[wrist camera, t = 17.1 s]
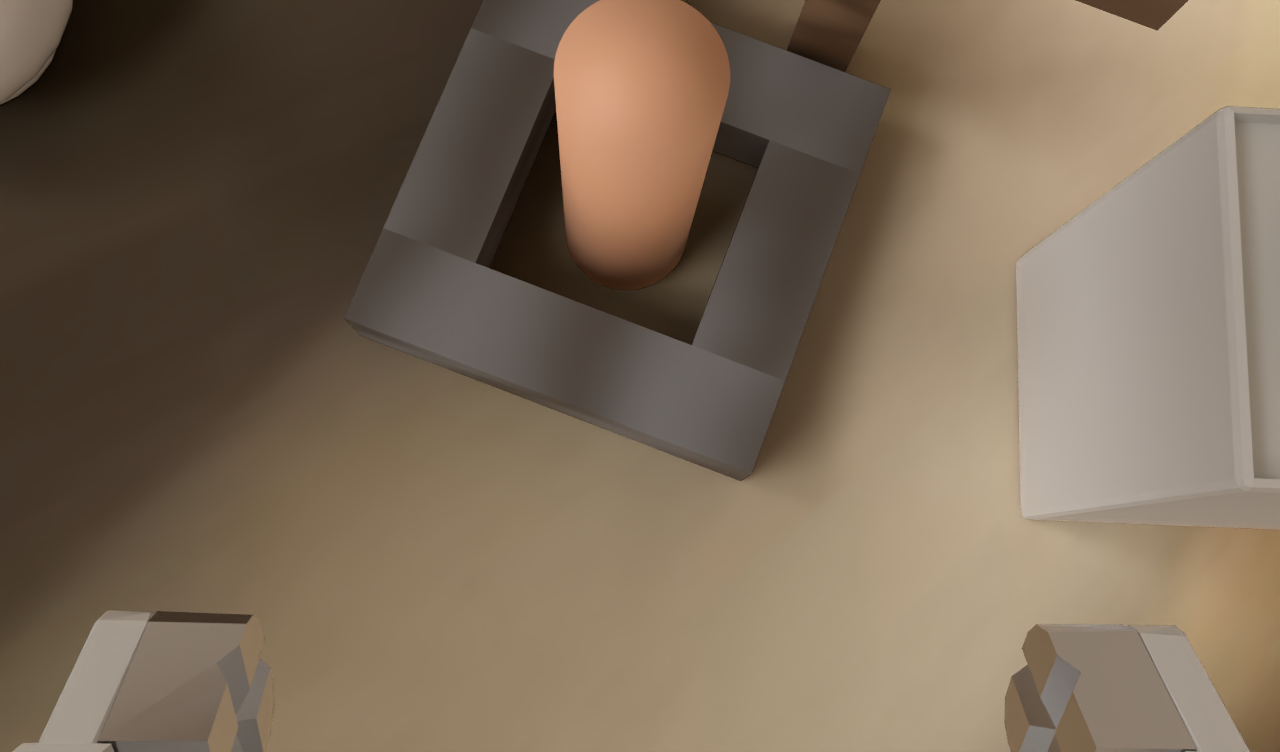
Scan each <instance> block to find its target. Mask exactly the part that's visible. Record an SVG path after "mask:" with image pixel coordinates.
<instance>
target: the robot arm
mask: <svg viewBox="0 0 1280 752" xmlns="http://www.w3.org/2000/svg"><path fill="white" fill-rule="evenodd" d="M264 640H265V637H264V633H263V629H262V625H261V621H260V617H258V616H255V615H240V614H214V613H188V612H162V611H157V612H145V611H114V610H107V611H106V612H105V613H104V614H103V615H102V616H101V617H100V618H99V619H98V620H97V621H96V622H95V623H94V626H93V628H92V630H91V632H90V634H89V636H88V638H87V640H86V643H85V645H84V647H83V649H82V651H81V653H80V655H79V657H78V659H77V662H76V664H75V666H74V668H73V670H72V672H71V674H70V676H69V678H68V681H67V683H66V685H65V687H64V689H63V691H62V693H61V695H60V697H59V700H58V702H57V704H56V706H55V708H54V710H53V712H52V714H51V716H50V719H49V721H48V723H47V725H46V727H45V729H44V731H43V733H42V736H41V738H40V740H39V742H38V743H22V744H21V745H19V746H18V747H17V748H16V749H14V750H13V751H12V752H266V751H267V747H268V743H269V739H270V735H271V729H272V721H273V713H274V683H273V678H272V672H271V668H270V667H269V666H268V665H266V664H265V663H264V662H263V661H262V660H260V659H259V657H260V654H261V650H262V647H263V643H264ZM1022 650H1023V653H1024V655H1025V658H1026V661H1027V663H1028V665H1027V666H1025V667H1024V668H1022V669H1021V670H1020V671H1018V672H1017V673H1016V674H1014V675H1013V676H1012V677H1011V680H1010V684H1009V687H1008V690H1007V693H1006V697H1005V728H1006V733H1007V739H1008V744H1009V747H1010V750H1011V752H1250V750H1249V749H1248V747H1247V745H1246V743H1245V741H1244V740H1243V738H1242V736H1241V734H1240V732H1239V730H1238V729H1237V727H1236V725H1235V723H1234V721H1233V720H1232V718H1231V716H1230V714H1229V712H1228V711H1227V709H1226V707H1225V705H1224V703H1223V702H1222V700H1221V698H1220V696H1219V694H1218V693H1217V691H1216V689H1215V687H1214V685H1213V684H1212V682H1211V680H1210V678H1209V676H1208V675H1207V673H1206V671H1205V669H1204V667H1203V666H1202V664H1201V662H1200V660H1199V658H1198V657H1197V655H1196V653H1195V651H1194V649H1193V648H1192V646H1191V644H1190V642H1189V640H1188V639H1187V637H1186V635H1185V633H1184V632H1183V631H1181V630H1180V629H1179V628H1178V627H1176V626H1175V625H1128V626H1124V625H1087V624H1036V625H1035V626H1034V627H1033V628H1032V629H1031V630H1030V631H1029V632H1028V634H1027V636H1026V639H1025V642H1024V644H1023V647H1022Z"/></svg>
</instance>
